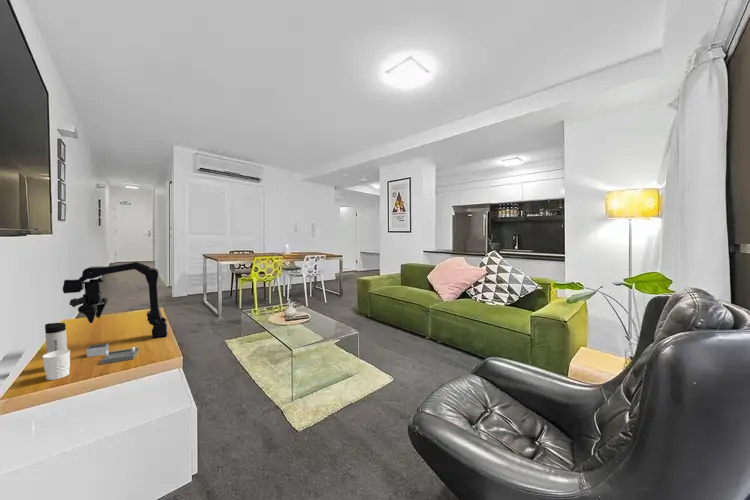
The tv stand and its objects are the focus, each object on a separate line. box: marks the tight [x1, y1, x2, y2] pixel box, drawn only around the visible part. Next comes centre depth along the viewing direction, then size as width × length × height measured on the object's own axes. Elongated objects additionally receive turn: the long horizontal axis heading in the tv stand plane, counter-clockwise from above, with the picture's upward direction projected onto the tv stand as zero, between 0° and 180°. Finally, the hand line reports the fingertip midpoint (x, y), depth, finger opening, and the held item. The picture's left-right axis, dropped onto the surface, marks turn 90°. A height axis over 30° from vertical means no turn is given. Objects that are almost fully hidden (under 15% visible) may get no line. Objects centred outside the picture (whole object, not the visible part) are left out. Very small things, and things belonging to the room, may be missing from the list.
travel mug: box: [44, 322, 68, 354], centre depth 132 cm, size 6×7×20 cm
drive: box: [86, 342, 110, 358], centre depth 146 cm, size 7×4×4 cm, turn 118°
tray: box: [100, 346, 139, 365], centre depth 142 cm, size 12×10×4 cm
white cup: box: [42, 349, 71, 381], centre depth 124 cm, size 8×8×10 cm
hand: (94, 320), depth 154 cm, fingers open, 9 cm apart
